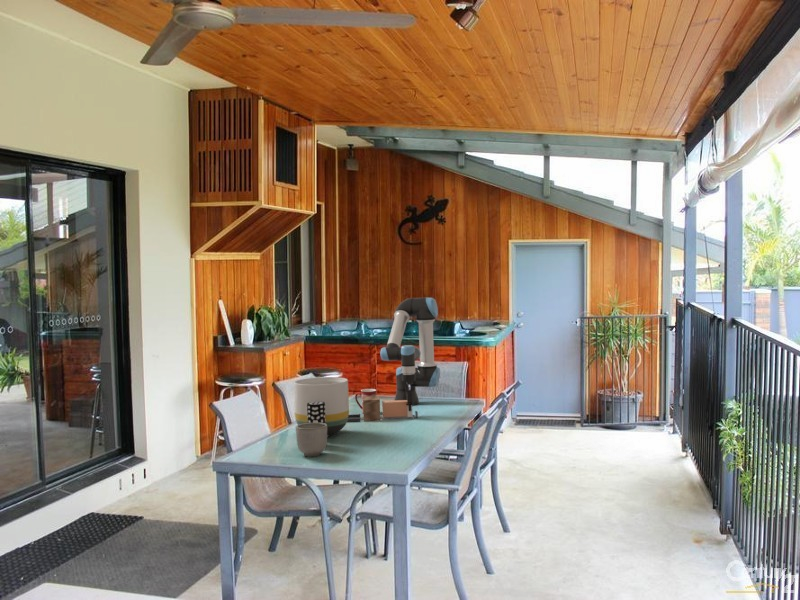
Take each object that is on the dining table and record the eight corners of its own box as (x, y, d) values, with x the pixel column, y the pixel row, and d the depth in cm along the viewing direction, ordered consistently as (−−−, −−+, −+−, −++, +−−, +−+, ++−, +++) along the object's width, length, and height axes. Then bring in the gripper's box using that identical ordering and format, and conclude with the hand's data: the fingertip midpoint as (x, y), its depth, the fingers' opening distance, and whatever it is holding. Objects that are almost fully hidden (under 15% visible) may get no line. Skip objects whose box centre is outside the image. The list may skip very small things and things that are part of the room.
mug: (379, 412, 405) (378, 389, 405) (373, 415, 397) (372, 391, 396) (359, 411, 410) (358, 388, 409) (353, 414, 401) (352, 390, 401)
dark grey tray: (343, 422, 379) (343, 419, 379) (344, 418, 391) (343, 414, 391) (360, 421, 380) (359, 418, 380) (360, 417, 392) (360, 414, 392)
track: (361, 420, 383) (360, 414, 383) (361, 418, 388) (360, 413, 388) (417, 418, 385) (417, 412, 385) (417, 416, 390) (416, 411, 390)
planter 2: (334, 453, 311) (333, 424, 310) (310, 460, 300) (309, 430, 300) (313, 449, 320) (312, 421, 320) (290, 455, 310) (289, 426, 309)
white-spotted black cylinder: (304, 446, 327) (303, 403, 326) (318, 443, 332) (317, 400, 332) (315, 449, 321) (314, 405, 320) (330, 445, 327) (328, 402, 326)
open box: (363, 421, 380) (363, 400, 380) (363, 417, 392) (363, 396, 392) (380, 420, 380) (379, 399, 380) (380, 416, 392) (379, 396, 392)
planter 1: (360, 432, 354) (358, 378, 353) (325, 443, 332) (323, 386, 331) (319, 427, 369) (318, 375, 368) (284, 437, 347) (282, 382, 346)
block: (382, 417, 384) (382, 402, 383) (382, 415, 389) (382, 400, 389) (412, 416, 384) (411, 401, 384) (411, 414, 390) (411, 399, 390)
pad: (382, 420, 382) (382, 419, 382) (381, 417, 391) (381, 416, 391) (413, 419, 383) (413, 418, 383) (412, 415, 392) (412, 415, 392)
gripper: (400, 371, 395) (402, 412, 396) (402, 376, 377) (403, 419, 378) (414, 371, 396) (415, 412, 396) (416, 375, 377) (417, 418, 378)
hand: (409, 415), depth 387 cm, fingers closed on block, 5 cm apart
